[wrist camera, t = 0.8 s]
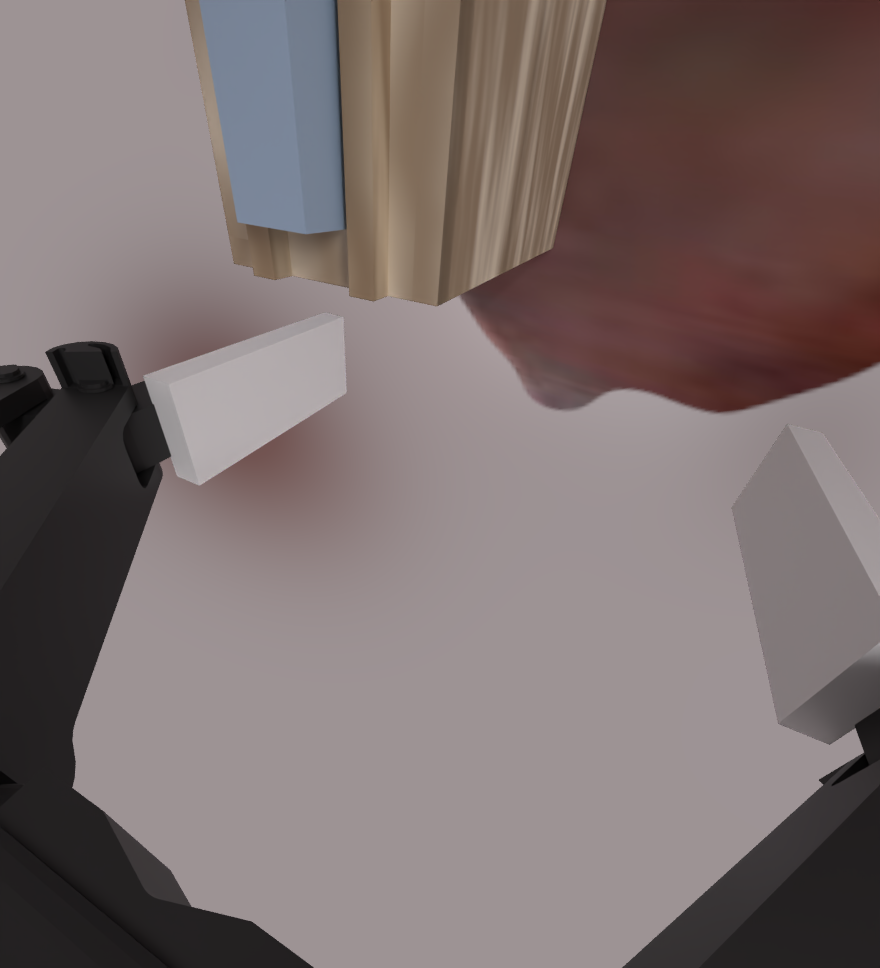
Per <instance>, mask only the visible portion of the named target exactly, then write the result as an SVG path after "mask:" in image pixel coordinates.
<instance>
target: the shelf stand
mask: <svg viewBox="0 0 880 968" xmlns="http://www.w3.org/2000/svg"><path fill="white" fill-rule="evenodd" d="M606 2H607V0H337V3H338V27H339V52H340V76H341V101H342V125H343V150H344V174H345V199H346V223H347V229H345V230H337V231H329V232H321V233H312V234H301V233H296V232H290V231H284V230H278V229H273V228H267V227H261V226H255V225H250V224H244V223H238V222H237V217H236V211H235V205H234V199H233V194H232V188H231V182H230V176H229V170H228V165H227V159H226V153H225V147H224V142H223V136H222V130H221V124H220V119H219V113H218V107H217V101H216V95H215V90H214V84H213V78H212V72H211V67H210V61H209V55H208V49H207V44H206V38H205V32H204V26H203V20H202V15H201V9H200V3H199V0H185V4H186V9H187V14H188V19H189V25H190V30H191V36H192V41H193V46H194V52H195V57H196V62H197V68H198V73H199V78H200V84H201V89H202V94H203V100H204V105H205V111H206V116H207V121H208V127H209V132H210V137H211V143H212V147H213V153H214V159H215V164H216V170H217V174H218V180H219V186H220V191H221V196H222V201H223V207H224V212H225V217H226V223H227V228H228V234H229V239H230V244H231V250H232V255H233V261H234V264H238V265H243V266H247V267H252V268H253V271H254V276H259V277H264V278H268V279H272V280H277V279H281V278H285V277H290V276H295V277H300V278H305V279H309V280H314V281H319V282H324V283H328V284H333V285H338V286H343V287H347V288H349V296H351V297H356V298H360V299H366V300H370V301H376V300H378V299H381V298H384V297H387V296H390V297H395V298H400V299H405V300H410V301H414V302H419V303H424V304H428V305H433V306H439V305H441V304H443V303H445V302H447V301H449V300H451V299H452V298H455V297H457V296H459V295H461V294H463V293H465V292H467V291H468V290H470V289H472V288H474V287H476V286H478V285H480V284H482V283H484V282H486V281H488V280H490V279H492V278H494V277H496V276H498V275H500V274H502V273H504V272H506V271H508V270H510V269H512V268H514V267H516V266H518V265H520V264H522V263H524V262H526V261H528V260H530V259H532V258H534V257H536V256H538V255H540V254H542V253H544V252H546V251H548V250H550V249H552V248H553V246H554V241H555V237H556V232H557V227H558V223H559V218H560V214H561V209H562V204H563V200H564V195H565V190H566V186H567V181H568V177H569V172H570V167H571V163H572V158H573V154H574V149H575V144H576V140H577V135H578V131H579V126H580V121H581V117H582V112H583V108H584V103H585V98H586V94H587V89H588V84H589V80H590V75H591V71H592V66H593V61H594V57H595V52H596V48H597V43H598V38H599V34H600V29H601V25H602V20H603V15H604V11H605V6H606Z"/></svg>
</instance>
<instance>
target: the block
mask: <svg viewBox="0 0 880 968" xmlns="http://www.w3.org/2000/svg"><path fill="white" fill-rule="evenodd" d="M199 3H200V9H201V15H202V20H203V26H204V32H205V38H206V44H207V49H208V55H209V61H210V67H211V72H212V78H213V84H214V90H215V95H216V101H217V107H218V113H219V119H220V124H221V130H222V136H223V142H224V147H225V153H226V159H227V165H228V170H229V176H230V182H231V188H232V194H233V199H234V205H235V211H236V217H237V222H238V223H244V224H250V225H255V226H261V227H267V228H273V229H278V230H284V231H290V232H296V233H301V234H312V233H321V232H329V231H337V230H345V229H347V223H346V199H345V174H344V150H343V125H342V101H341V76H340V52H339V27H338V3H337V0H199Z"/></svg>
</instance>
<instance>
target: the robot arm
mask: <svg viewBox="0 0 880 968" xmlns="http://www.w3.org/2000/svg"><path fill="white" fill-rule="evenodd" d="M45 353H46V355H47V357H48V359H49V361H50V363H51V365H52V367H53V369H54V372H55V374H56V376H57V378H58V380H59V382H60V384H61V387H62V388H61V389H60V390H59V389H51V387H50V385H49V383H48V381H47V379H46V377H45V375H44V373H43V371H42V370H40V369H38V368H36V367H30V366H17V365H7V366H5V365H4V366H0V438H1V440H2V442H3V443H4V445H5V446H6V448H7V449H6V450H5V451H4V452H3V453H2V455H1V456H0V968H313V967H312V966H311V965H309V964H308V963H307V962H305V961H304V960H303V959H301V958H300V957H299V956H297V955H296V954H295V953H293V952H292V951H291V950H289V949H288V948H287V947H285V946H284V945H283V944H281V943H280V942H279V941H277V940H276V939H275V938H273V937H272V936H270V935H269V934H268V933H266V932H265V931H264V930H262V929H261V928H260V927H258V926H257V925H256V924H254V923H253V922H251V921H247V920H243V919H239V918H235V917H231V916H227V915H222V914H218V913H214V912H210V911H206V910H202V909H198V908H194V907H191V905H190V903H189V902H188V900H187V898H186V896H185V895H184V893H183V891H182V890H181V888H180V886H179V884H178V883H177V881H176V879H175V877H174V875H173V874H172V872H171V870H169V869H168V868H167V867H166V866H165V865H164V864H162V863H161V862H160V861H159V860H158V859H157V858H156V857H155V856H153V855H152V854H151V853H150V852H149V851H147V849H146V848H144V847H143V846H142V845H141V844H140V843H139V842H138V841H136V840H135V839H134V838H133V837H132V836H131V835H130V834H129V833H127V832H126V831H125V830H124V829H123V828H122V827H121V826H119V825H118V824H117V823H116V822H115V821H114V820H113V819H112V818H110V817H109V816H108V815H107V814H106V813H105V812H104V811H102V810H101V809H100V808H98V807H97V806H96V805H94V804H93V803H92V802H90V801H89V800H87V799H86V798H85V797H84V796H82V795H81V794H80V793H78V792H77V791H76V790H74V789H73V788H72V787H73V782H74V778H75V762H76V761H75V756H74V749H73V742H72V737H73V728H74V725H75V721H76V718H77V715H78V712H79V709H80V707H81V704H82V701H83V698H84V695H85V692H86V690H87V687H88V684H89V681H90V678H91V676H92V673H93V670H94V667H95V665H96V662H97V659H98V656H99V653H100V650H101V648H102V645H103V642H104V639H105V636H106V634H107V631H108V628H109V625H110V622H111V620H112V617H113V614H114V611H115V608H116V606H117V602H118V600H119V597H120V594H121V592H122V589H123V586H124V583H125V580H126V577H127V575H128V572H129V569H130V566H131V563H132V561H133V558H134V555H135V552H136V549H137V547H138V544H139V541H140V538H141V535H142V533H143V530H144V527H145V524H146V521H147V518H148V516H149V513H150V510H151V507H152V504H153V502H154V499H155V496H156V493H157V490H158V488H159V485H160V482H161V479H162V476H163V473H162V468H161V466H160V464H159V462H161V461H163V460H165V459H167V458H169V457H171V460H172V462H173V465H174V468H175V471H176V474H177V476H178V477H180V478H183V479H185V480H188V481H190V482H193V483H195V484H197V485H201V484H203V483H204V482H206V481H207V480H209V479H210V478H212V477H214V476H215V475H217V474H219V473H220V472H222V471H223V470H225V469H227V468H228V467H230V466H231V465H233V464H234V463H236V462H238V461H239V460H241V459H242V458H244V457H246V456H247V455H249V454H250V453H252V452H254V451H255V450H257V449H258V448H260V447H262V446H263V445H265V444H266V443H268V442H269V441H271V440H273V439H274V438H276V437H277V436H279V435H281V434H282V433H284V432H285V431H287V430H289V429H290V428H292V427H293V426H295V425H297V424H298V423H300V422H301V421H303V420H304V419H306V418H308V417H309V416H311V415H312V414H314V413H315V412H317V411H319V410H320V409H322V408H324V407H325V406H327V405H328V404H330V403H332V402H333V401H335V400H336V399H338V398H339V397H341V396H343V395H344V394H346V393H347V388H346V362H345V337H344V317H342V316H338V315H334V314H330V313H326V312H324V313H321V314H318V315H315V316H313V317H310V318H307V319H304V320H301V321H298V322H295V323H293V324H290V325H287V326H284V327H281V328H278V329H275V330H272V331H270V332H267V333H264V334H261V335H258V336H255V337H252V338H250V339H247V340H244V341H241V342H238V343H235V344H233V345H229V346H227V347H224V348H221V349H218V350H216V351H212V352H210V353H207V354H204V355H201V356H198V357H195V358H192V359H190V360H187V361H184V362H181V363H178V364H175V365H172V366H169V367H167V368H164V369H161V370H158V371H155V372H152V373H149V374H147V375H144V376H143V377H144V380H145V381H143V382H140V383H137V384H134V385H132V386H131V383H130V380H129V378H128V375H127V372H126V369H125V367H124V364H123V361H122V358H121V356H120V353H119V350H118V348H117V347H116V346H115V345H113V344H110V343H106V342H93V341H90V342H76V343H70V344H65V345H61V346H57V347H54V348H52V349H50V350H48V351H46V352H45ZM732 512H733V516H734V520H735V526H736V530H737V535H738V539H739V544H740V549H741V553H742V558H743V562H744V567H745V572H746V577H747V581H748V586H749V591H750V595H751V600H752V604H753V609H754V614H755V618H756V623H757V628H758V632H759V637H760V642H761V646H762V650H763V655H764V660H765V665H766V669H767V674H768V678H769V683H770V688H771V693H772V697H773V701H774V707H775V711H776V715H777V720H778V724H780V725H783V726H785V727H788V728H790V729H793V730H795V731H797V732H800V733H802V734H805V735H807V736H810V737H812V738H814V739H817V740H819V741H822V742H824V743H827V744H829V745H830V744H832V743H833V742H835V741H836V740H838V739H839V738H841V737H842V736H844V735H845V734H847V733H848V732H850V731H851V730H853V729H854V728H856V731H857V733H858V736H859V739H860V741H861V744H862V747H863V750H864V753H863V754H861V755H859V756H858V757H856V758H854V759H853V760H851V761H850V762H848V763H846V764H844V765H843V766H841V767H839V768H838V769H836V770H834V771H833V772H831V773H830V774H828V775H826V776H824V777H823V778H821V779H819V781H820V782H821V783H822V784H823V786H822V787H821V788H819V789H818V790H817V791H816V792H815V793H814V794H813V795H812V796H811V797H810V798H808V799H807V801H805V802H804V803H803V804H802V805H801V806H800V807H799V808H797V809H796V810H795V811H794V812H793V813H792V814H791V815H790V816H789V817H788V818H787V819H785V820H784V821H783V822H782V823H781V824H780V825H779V826H778V827H776V828H775V829H774V830H773V831H772V832H771V833H770V834H769V835H768V836H767V837H765V838H764V839H763V840H762V841H761V842H760V843H759V844H758V845H757V846H756V847H754V848H753V849H752V850H751V851H750V852H749V853H748V854H747V855H746V856H745V857H744V858H742V859H741V860H740V861H739V862H738V863H737V864H736V865H735V866H734V867H733V868H731V869H730V870H729V871H728V872H727V873H726V874H725V875H724V876H723V877H722V878H720V879H719V880H718V881H717V882H716V883H715V884H714V885H713V886H712V887H711V888H709V889H708V890H707V891H706V892H705V893H704V894H703V895H702V896H701V897H699V898H698V899H697V900H696V901H695V902H694V903H693V904H692V905H691V906H690V907H689V908H687V909H686V910H685V911H684V912H683V913H682V914H681V915H680V916H679V917H677V918H676V919H675V920H674V921H673V922H672V923H671V924H670V925H669V926H668V927H666V929H664V930H663V931H662V932H661V933H660V934H659V935H658V936H657V937H655V938H654V939H653V940H652V941H651V942H650V943H649V944H648V945H647V946H646V947H644V948H643V949H642V950H641V951H640V952H639V953H638V954H637V955H636V956H635V957H633V958H632V959H631V960H630V961H629V962H628V963H627V964H626V965H625V966H624V967H623V968H880V519H879V517H878V516H877V514H876V513H875V511H874V510H873V508H872V507H871V505H870V504H869V502H868V501H867V499H866V498H865V496H864V495H863V493H862V491H861V490H860V488H859V487H858V485H857V484H856V482H855V481H854V479H853V478H852V476H851V475H850V474H849V472H848V470H847V469H846V467H845V466H844V464H843V463H842V461H841V460H840V458H839V457H838V455H837V454H836V452H835V451H834V449H833V448H832V446H831V445H830V443H829V442H828V441H827V439H826V437H825V436H824V434H823V433H822V432H818V431H815V430H811V429H806V428H802V427H798V426H794V425H790V424H787V425H786V427H785V428H784V429H783V431H782V433H781V434H780V435H779V437H778V439H777V440H776V441H775V443H774V444H773V446H772V448H771V449H770V451H769V452H768V454H767V455H766V456H765V458H764V460H763V461H762V463H761V464H760V465H759V467H758V469H757V470H756V472H755V473H754V475H753V476H752V478H751V479H750V481H749V482H748V484H747V485H746V487H745V488H744V490H743V491H742V493H741V494H740V496H739V497H738V499H737V500H736V502H735V503H734V505H733V506H732Z"/></svg>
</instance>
